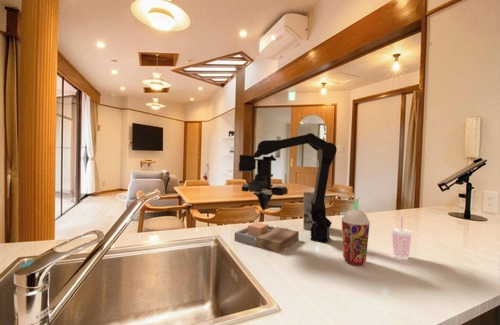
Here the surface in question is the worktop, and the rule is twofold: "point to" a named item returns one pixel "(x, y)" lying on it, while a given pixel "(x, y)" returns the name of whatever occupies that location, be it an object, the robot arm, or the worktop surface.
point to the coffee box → (306, 219)
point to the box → (247, 236)
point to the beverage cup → (401, 242)
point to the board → (277, 239)
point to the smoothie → (355, 236)
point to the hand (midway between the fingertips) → (263, 210)
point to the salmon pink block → (257, 229)
